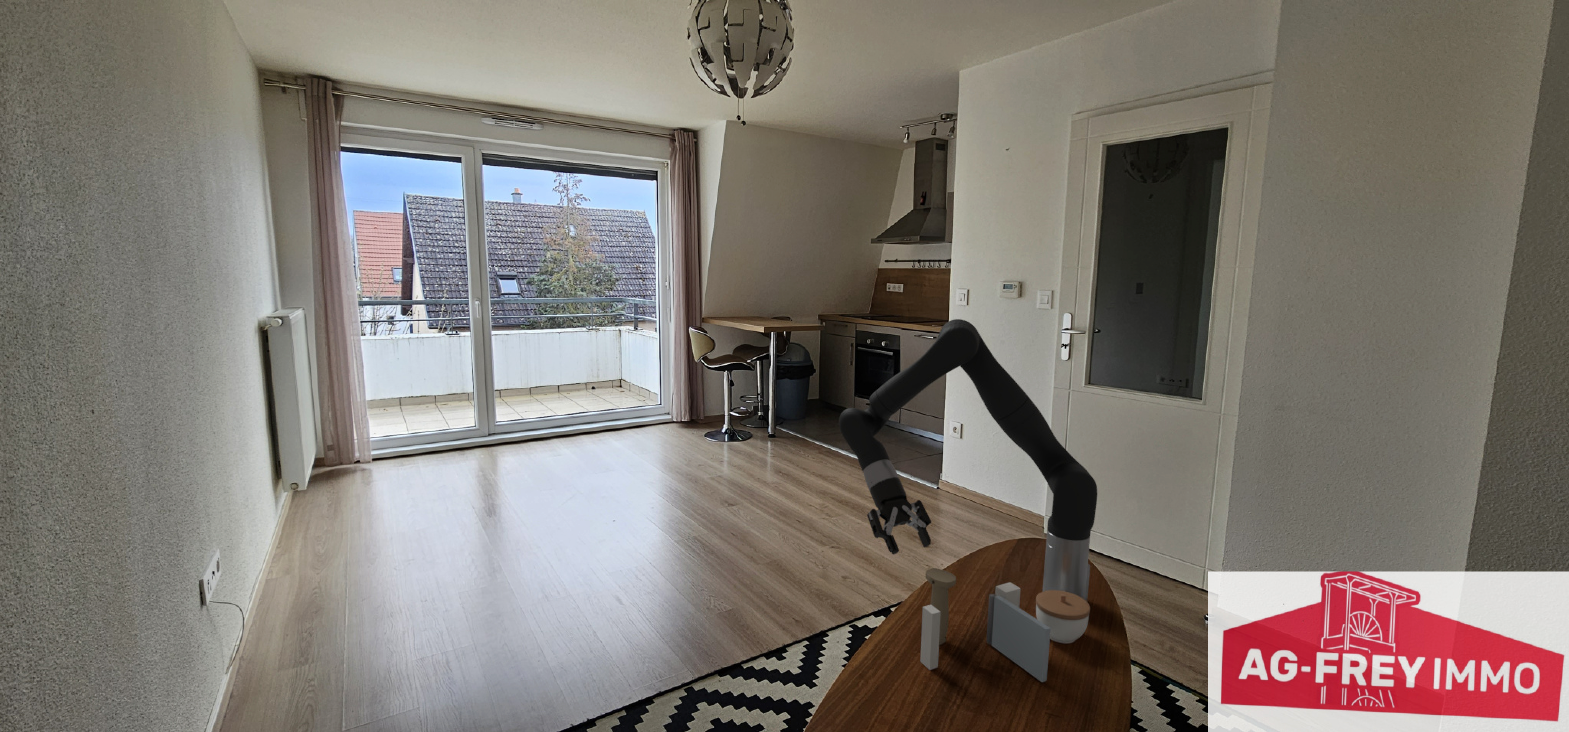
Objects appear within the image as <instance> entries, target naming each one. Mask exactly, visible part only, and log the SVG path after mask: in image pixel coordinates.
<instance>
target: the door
mask: <svg viewBox="0 0 1569 732" xmlns="http://www.w3.org/2000/svg"><path fill="white" fill-rule="evenodd" d="M986 627H987V628H986V640H985V641H986V643H987V644H988V645H991V647H992V648H994V649H996V650H997V651H998V652H1000V653H1001V654H1002V655H1003V656H1005V657H1007V658H1008V659H1009V660H1011V661H1012V662H1014V663H1015V664H1016V665H1018V666H1019V667H1021V668H1022V669H1023V670H1025V671H1026V672H1027V673H1029V675H1031V676H1033V677H1034V678H1035V679H1037V680H1038V681H1040V682H1041V683H1044V682H1046V681H1047V679H1048V668H1049V666H1048V665H1049V657H1050V656H1049V653H1050V643H1051V642H1050V641H1051V639H1050V631H1051V628H1050V627H1048V626H1047V625H1045V624H1044V623H1042V622H1041V621H1039V620H1037V617H1035V616H1033V615H1032V614H1030V613H1028V612H1026V611H1025V610H1023V609H1022V608H1021V607H1019V608H1018V607H1017V606H1015V605H1014V604H1012V603H1010V602H1009V601H1007V600H1006V599H1004V598H1003V597H1001V596H999V595H998V596H997V595H995V593H990V594H988V611H987V626H986Z"/></svg>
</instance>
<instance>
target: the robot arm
mask: <svg viewBox="0 0 1569 732" xmlns="http://www.w3.org/2000/svg"><path fill="white" fill-rule="evenodd" d="M959 367H960V368H961V369H962V370H963V371H964V372H965V374H966V375H967V376H968V377H969V378H970V380H971V382H972V383H973V385H974V387H975V388H976V391H977V393H978V395H979V397H980V398H981V401H982V402H983V405H984V406H985V408H986V409H987V412H988V413H989V414H990V416H991V418H993V420H994V421H995V422H996V424H997V425H998V426H999V428H1000V429H1001V430H1002V432H1004V433H1005V435H1006V436H1007V437H1008V438H1009V439H1010V440H1011V441H1012V442H1013V443H1014V444H1015V445H1017V447H1019V448H1020V450H1023V452H1024V453H1025V454H1027V456H1029V458H1030V459H1031V460H1032V461H1033V463H1034V465H1035V466H1036V467H1037V468H1038V470H1039V471H1040V473H1041V475H1042V477H1044V481H1046V482H1047V485H1048V487H1049V489H1050V491H1051V492H1052V495H1053V496H1052V508H1051V515H1050V516H1049V518H1048V519H1047V527H1046V528H1047V529H1046V541H1045V542H1046V543H1045V552H1044V553H1045V555H1044V556H1045V557H1044V569H1043V579H1042V580H1043V581H1042V592H1043V591H1048V590H1059V591H1065V592H1069V593H1072V594H1075V595H1077V596H1079V597H1081V598H1083V599H1084V600H1085V601H1087V602H1088V594H1089V584H1090V583H1089V582H1090V572H1091V565H1090V564H1089V557H1090V555H1089V554H1090V542H1091V531H1092V529H1093V528H1094V525H1095V519H1096V511H1097V502H1098V486H1097V483H1096V480H1095V479H1094V477H1093V476H1092V475H1091V474H1090V472H1089V471H1088V470H1087V469H1086V468H1085V467H1084V466H1083V465H1082V464H1081V463H1080V462H1079V461H1078V460H1077V459H1076V458H1074V457H1073V455H1072V454H1070V452H1068V450H1067V449H1066V448H1065V447H1064V446H1063V445H1062V444H1061V442H1060V441H1059V440H1058V439H1057V437H1056V436H1055V434H1054V432H1053V430H1052V429H1051V427H1050V425H1049V424H1048V422H1047V420H1046V419H1045V417H1044V415H1043V414H1042V412H1041V411H1040V409H1039V408H1038V406H1037V405H1036V404H1035V402H1033V401H1032V399H1031V398H1030V396H1029V395H1028V393H1026V391H1025V390H1024V389H1023V388H1022V387H1021V386H1020V385H1019V384H1018V382H1017V381H1016V380H1015V379H1014V378H1013V377H1012V376H1011V374H1009V373H1008V372H1007V371H1006V370H1005V368H1004V367H1003V366H1002V364H1000V363H999V362H998V360H997V359H996V357H995V356H994V355H993V353H992V352H991V350H990V349H989V347H988V346H987V344H986V343H985V341H984V339H983V338H982V336H981V334H980V333H979V330H978V329H977V328H976V326H974V325H973V324H972V323H971V322H969V321H967V320H965V319H961V318H960V319H959V318H958V319H957V318H955V319H954V318H953V319H951V320H948V321H947V322H946V323H945V324H944V325H943V326H942V327H941V328H940V330H939V333H938V335H937V338H936V340H935V341H934V342H933V344H932V345H931V346H930V347H929V348H928V349H927V350H926V352H925V353H924V354H923V355H922V356H921V357H920V358H918V359H917V360H916V361H915V362H913V363H912V364H910V365H909V366H908V367H906V368H904V369H903V370H901V371H899V372H898V373H896V374H895V375H894V376H892V377H891V378H890V379H888V380H887V381H886V382H884V383H883V384H882V385H881V386H880V387H879V388H878V389H876V390H875V391H874V392H873V393H872V394H871V395H870V397H869V399H868V401H869V407H867V408H866V409H864V410H863V409H859V408H857V407H848V408H846V409H844V410H843V411H842V412H841V413H840V416H839V418H838V425H839V426H838V427H839V430H840V433H841V435H842V437H843V439H844V441H845V442H846V443H847V445H848V447H849V448H850V449H851V450H852V452H853V453H854V454H855V456H856V457H857V458H856V459H857V460H858V464H859V466H860V469H861V471H862V473H863V477H864V480H865V484H866V486H867V488H868V490H869V493H870V495H871V498H872V501H873V502H874V505H875V507H876V508H877V509H876V508H871V510H870V511H869V512H868V513H867V514H866V517H867V519H868V522H869V524H870V528H871V531H872V534H873V536H874V538H875V539H878V538H881V539H883V540H884V542H885V545H886V548H887V550H888V552H889V553H891V554H892V555H896V554H897V553H900V552H899V551H900V549H899V546H898V544H897V541H896V539H895V536H894V534H892V532H893V528H894V527H898V526H905V525H907V526H908V527H910V528H913V530H915V531H917V536H918V538H919V539H920V541H921V545H922V547H923V548H928V547H929V546H930V545H931V544H932V543H931V542H932V539H931V537H930V534H929V532H928V530H927V527H928V526H929V525H930V524H931V523H932V520H931V518H930V516H929V514H928V512H927V510H926V508H925V506H924V505H923V502H922V500H921V499H918V500H917V501H915V502H911V503H910V501H908V497H907V492H906V491H905V488H904V486H903V483H902V481H901V479H900V477H899V475H898V473H897V470H896V468H895V466H894V465H893V463H892V462H891V459H890V457H889V455H888V453H887V449H886V448H885V445H883V443H882V442H881V441H880V440H878V439H876V438H875V437H876V435H877V434H878V433H880V432H881V431H882V429H883V428H884V426H885V425H886V424H887V423H888V421H889V420H890V419H891V417H892V416H893V415H894V414H896V413H897V412H898V411H900V410H901V409H902V408H903V407H904V406H906V405H907V404H908V403H909V402H911V401H912V400H913V399H914V398H915V397H916V396H918V395H919V394H920V393H921V392H922V391H924V390H925V389H926V388H927V387H930V385H931V384H933V383H934V382H936V381H937V380H938V379H940V378H942V377H943V376H944V375H947V374H948V373H950V372H952V371H953V370H955V369H957V368H959ZM880 518H881V519H883V525H882V523H881V520H880Z"/></svg>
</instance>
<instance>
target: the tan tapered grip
mask: <svg viewBox="0 0 1569 732" xmlns="http://www.w3.org/2000/svg"><path fill="white" fill-rule="evenodd" d="M925 579H926V580H927V581H928V583H929V584H930V585H931V595H930V596H931V597H930V604H929V605H932V606H934V607H935V608H936V609H938V610H939V611H940V633H939V646H940V645H941V646H942V645H943V644H944V643H946V641H947V634H948V629H949V616H950V615H949V589H951V588H953V587H954V586H956V583H957V577H956V576H955V575H954V574H953V573H952V572H949V571H947V570H945V569H941V568H936V567H935V568H933V567H932V568H929V569H927V570H926V571H925Z"/></svg>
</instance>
